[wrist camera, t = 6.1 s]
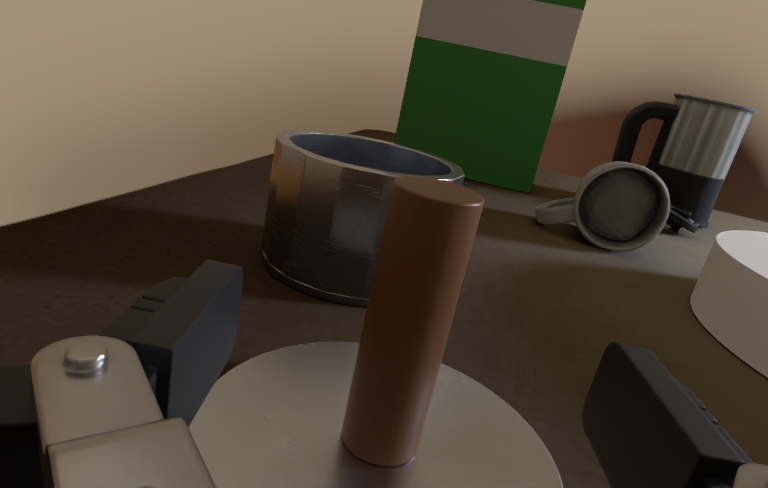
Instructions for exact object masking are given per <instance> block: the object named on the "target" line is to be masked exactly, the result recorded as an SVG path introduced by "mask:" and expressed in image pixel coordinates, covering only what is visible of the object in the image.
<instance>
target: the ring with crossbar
mask: <svg viewBox="0 0 768 488" xmlns="http://www.w3.org/2000/svg"><path fill="white" fill-rule="evenodd" d="M690 304H691V307H692V310H693V312H694V314H695V315H696V317H697V318H698V320H699V321H700V322H701V323H702V325H703V326H704V327H705V328H706V329H707V330H708V331H709V332H710V333H711V334H712V335H713V336H714V337H715V338H716V339H717V340H718V341H719V342H721V343H722V344H723V345H724V346H725V347H726V348H728V349H729V350H730V351H731V352H733V353H734V354H735V355H736V356H738V357H739V358H740V359H742V360H743V361H744V362H746V363H747V364H748V365H750V366H751V367H753V368H754V369H755V370H757V371H758V372H760V373H761V374H763V375H764V376H766V377H767V378H768V233H765V232H756V231H742V230H733V231H724V232H721V233H719V234H718V235H717V236H716V239H715V241H714V243H713V246H712V248H711V250H710V253H709V255H708V257H707V260H706V262H705V264H704V267H703V269H702V271H701V274H700V276H699V279H698V281H697V283H696V286H695V288H694V290H693V293H692V295H691V298H690Z"/></svg>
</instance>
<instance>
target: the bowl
mask: <svg viewBox="0 0 768 488" xmlns="http://www.w3.org/2000/svg"><path fill="white" fill-rule="evenodd" d="M404 176H417V177H426V178H432V179H437V180H442V181H446V182H450V183H453V184H456V185H460V186H462V185H463V181H464V177H465V175H464V173H463V171H462V168H461V167H459V166H457V165H455V164H453V163H452V162H450V161H448V160H446V159H444V158H441V157H438V156H435V155H433V154H430V153H427V152H424V151H421V150H418V149H414V148H410V147H407V146H403V145H399V144H396V143H392V142H387V141H382V140H377V139H373V138H368V137H362V136H356V135H350V134H343V133H336V132H326V131H312V130H299V131H285V132H283V133H281V134H279V135H277V136H276V143H275V150H274V158H273V165H272V173H271V180H270V188H269V196H268V203H267V211H266V218H265V226H264V234H263V241H262V249H263V254H262V259H263V263H264V265H265V267H266V268H267V269H268V271H269V272H270V273H271V274H272V275H273V276H275V277H276V278H277V279H279V280H280V281H282V282H283V283H285V284H287V285H288V286H290V287H292V288H294V289H296V290H299V291H301V292H303V293H306V294H309V295H311V296H314V297H318V298H321V299H324V300H328V301H332V302H337V303H341V304H347V305H353V306H362V307H367V306H368V301H369V296H370V291H371V287H372V282H373V277H374V272H375V267H376V263H377V258H378V253H379V248H380V243H381V239H382V234H383V229H384V224H385V219H386V215H387V210H388V205H389V200H390V195H391V191H392V186H393V182H394V180H395V179H396V178H398V177H404Z"/></svg>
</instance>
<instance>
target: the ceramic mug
mask: <svg viewBox="0 0 768 488" xmlns="http://www.w3.org/2000/svg"><path fill="white" fill-rule="evenodd" d="M535 212H536V219H537V222H538V223H541V224H559V223H569V222H575V223H576V225H577V227H578V229H579V230H580V232H581V234H582V235H583V236H584V237H585V238H586V239H587V240H588V241H590V242H591V243H592V244H594V245H596V246H598V247H600V248H603V249H607V250H610V251H630V250H634V249H637V248H639V247H642V246H644V245H646V244H647V243H649V242H650V241H652V240H653V239H654V238H655V237H656V236H657V235H658V234H659V233H660V232H661V230H662V229H663V227H664V225H665V224H666V221H667V218H668V216H669V212H670V198H669V193H668V190H667V187H666V185H665V184H664V182H663V181H662V180H661V178H660V177H659V176H658V175H656V174H655V173H654V172H653V171H651V170H649V169H648V168H646V167H643V166H641V165H637V164H632V163H628V162H621V161H614V162H608V163H604V164H602V165H599V166H597V167H596V168H594V169H592V170H591V171H590V172H588V173H587V174H586V175H585V176H584V178H582V180H581V182H580V183H579V185H578V188H577V190H576V195H575V197H572V198H565V199H559V200H554V201H550V202H545V203H542V204H540V205H538V206H536V208H535Z"/></svg>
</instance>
